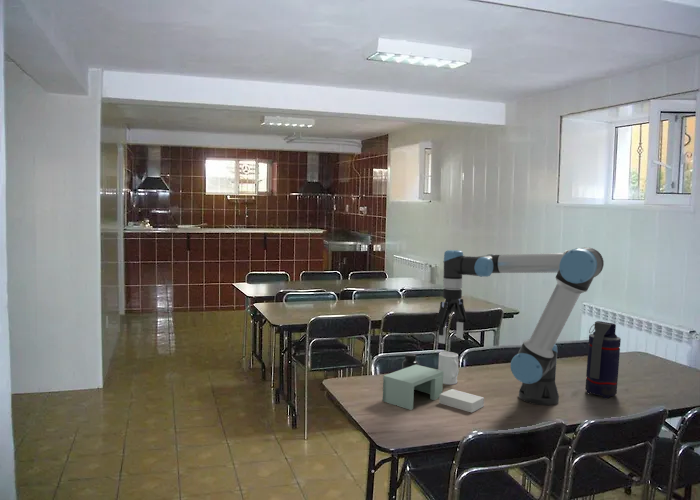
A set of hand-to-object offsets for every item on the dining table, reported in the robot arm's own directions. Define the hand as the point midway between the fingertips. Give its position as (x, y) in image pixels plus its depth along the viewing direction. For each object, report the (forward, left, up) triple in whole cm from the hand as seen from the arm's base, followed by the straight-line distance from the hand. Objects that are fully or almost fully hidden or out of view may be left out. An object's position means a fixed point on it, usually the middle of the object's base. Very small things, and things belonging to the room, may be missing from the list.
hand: (450, 340), depth 238 cm
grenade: (-47, -40, -21) cm, 66 cm away
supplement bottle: (+17, +4, -21) cm, 27 cm away
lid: (-13, +12, -21) cm, 27 cm away
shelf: (+4, +20, -21) cm, 29 cm away
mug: (+5, -8, -21) cm, 23 cm away
